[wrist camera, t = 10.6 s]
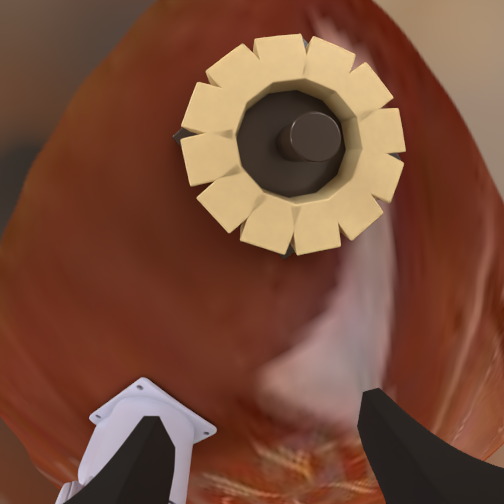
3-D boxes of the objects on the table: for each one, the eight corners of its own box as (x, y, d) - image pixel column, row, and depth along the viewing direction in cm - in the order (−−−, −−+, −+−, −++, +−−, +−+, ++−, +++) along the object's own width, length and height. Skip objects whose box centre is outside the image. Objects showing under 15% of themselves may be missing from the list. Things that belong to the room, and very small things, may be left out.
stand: (281, 253, 18) (299, 295, 12) (176, 138, 15) (145, 129, 10) (392, 159, 16) (448, 163, 11) (296, 42, 14) (320, -3, 8)
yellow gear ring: (280, 277, 17) (286, 295, 15) (151, 137, 14) (136, 133, 12) (413, 162, 15) (436, 164, 13) (299, 20, 12) (308, 1, 10)
